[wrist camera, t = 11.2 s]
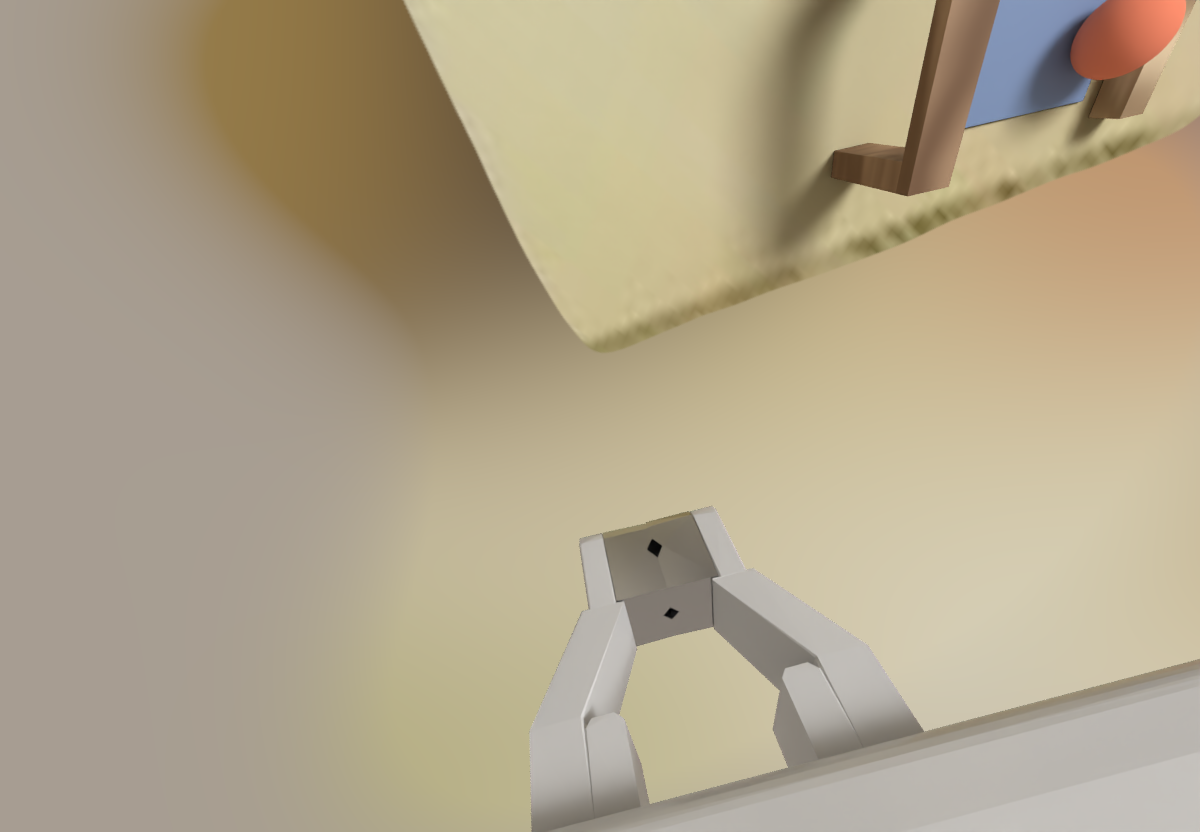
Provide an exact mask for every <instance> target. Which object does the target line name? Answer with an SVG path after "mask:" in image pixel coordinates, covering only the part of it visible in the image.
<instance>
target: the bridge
mask: <svg viewBox="0 0 1200 832" xmlns="http://www.w3.org/2000/svg"><path fill="white" fill-rule="evenodd" d="M999 2H1000V0H936V5H935V9H934V14H933V19H932V23H931V28H930V33H929V38H928V42H927V47H926V52H925V57H924V61H923V66H922V71H921V76H920V80H919V85H918V90H917V94H916V99H915V104H914V109H913V113H912V118H911V123H910V128H909V132H908V137H907V142H906V146H905V147H897V146H889V145H881V144H873V143H867V144H862V145H858V146H854V147H849V148H845V149H841V150H836V151H834V159H833V167H832V175H831V177H832V178H836V179H840V180H844V181H848V182H852V183H856V184H860V185H864V186H868V187H872V188H876V189H880V190H884V191H888V192H892V193H896V194H900V195H904V196H911V195H915V194H920V193H924V192H928V191H932V190H937V189H941V188H945V187H949V184H950V180H951V176H952V173H953V169H954V165H955V162H956V158H957V155H958V151H959V147H960V144H961V140H962V136H963V133H964V129H965V126H966V122H967V118H968V115H969V111H970V107H971V104H972V100H973V97H974V93H975V89H976V86H977V82H978V78H979V75H980V71H981V68H982V64H983V60H984V57H985V53H986V49H987V46H988V42H989V39H990V35H991V31H992V28H993V24H994V20H995V17H996V13H997V10H998V6H999Z"/></svg>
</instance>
